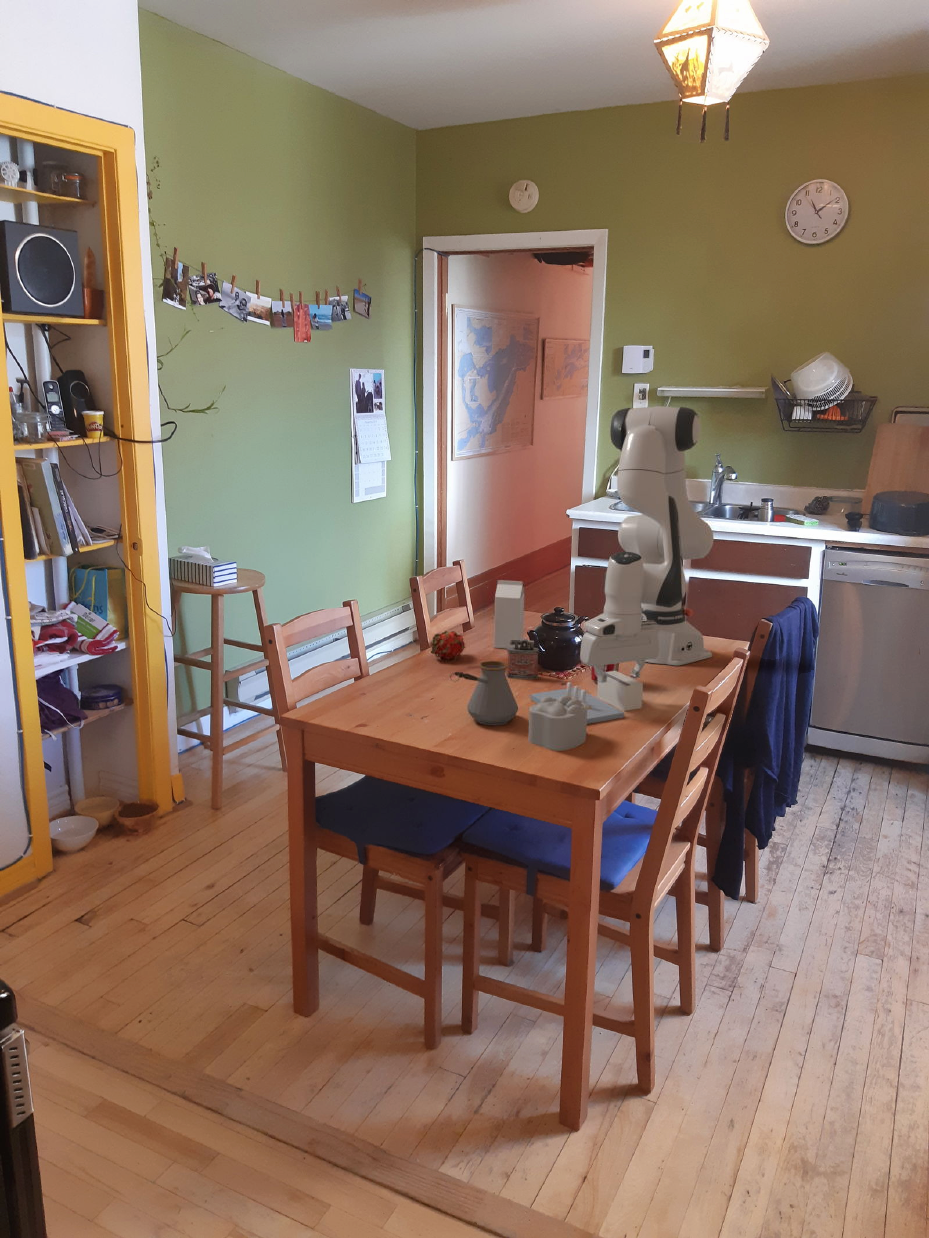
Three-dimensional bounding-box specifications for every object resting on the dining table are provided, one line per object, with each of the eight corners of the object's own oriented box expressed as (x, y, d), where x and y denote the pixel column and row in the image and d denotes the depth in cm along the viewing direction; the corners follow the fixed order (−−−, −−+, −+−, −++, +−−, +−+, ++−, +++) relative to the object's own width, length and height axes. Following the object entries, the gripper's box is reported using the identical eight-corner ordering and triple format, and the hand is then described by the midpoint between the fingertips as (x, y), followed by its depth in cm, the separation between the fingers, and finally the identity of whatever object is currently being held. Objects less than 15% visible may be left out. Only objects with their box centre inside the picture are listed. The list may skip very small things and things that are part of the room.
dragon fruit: (428, 668, 257) (459, 665, 266) (449, 655, 252) (479, 652, 261) (418, 639, 259) (449, 638, 268) (438, 626, 254) (468, 624, 263)
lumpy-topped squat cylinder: (521, 740, 203) (522, 701, 201) (559, 725, 212) (561, 687, 210) (560, 753, 196) (562, 713, 194) (597, 737, 205) (599, 699, 203)
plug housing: (614, 694, 233) (615, 669, 231) (641, 708, 223) (643, 682, 222) (597, 697, 230) (598, 672, 229) (623, 711, 221) (625, 685, 219)
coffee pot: (484, 707, 222) (485, 645, 219) (527, 717, 216) (529, 653, 213) (431, 734, 205) (431, 668, 202) (475, 746, 199) (476, 677, 195)
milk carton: (518, 650, 269) (520, 584, 265) (494, 648, 271) (495, 582, 266) (523, 643, 276) (524, 579, 271) (499, 641, 278) (500, 577, 273)
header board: (575, 691, 234) (576, 671, 233) (623, 717, 217) (625, 695, 216) (529, 699, 229) (530, 678, 227) (575, 726, 211) (576, 703, 210)
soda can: (622, 684, 240) (625, 638, 237) (596, 686, 238) (598, 640, 235) (610, 676, 247) (613, 631, 244) (585, 678, 245) (587, 633, 242)
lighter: (538, 675, 247) (539, 638, 244) (537, 679, 243) (538, 641, 241) (506, 674, 247) (507, 637, 245) (506, 678, 244) (506, 640, 242)
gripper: (650, 616, 229) (646, 671, 232) (578, 623, 220) (575, 681, 223) (666, 622, 223) (662, 678, 227) (593, 629, 215) (590, 688, 218)
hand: (618, 680), depth 225 cm, fingers open, 8 cm apart
